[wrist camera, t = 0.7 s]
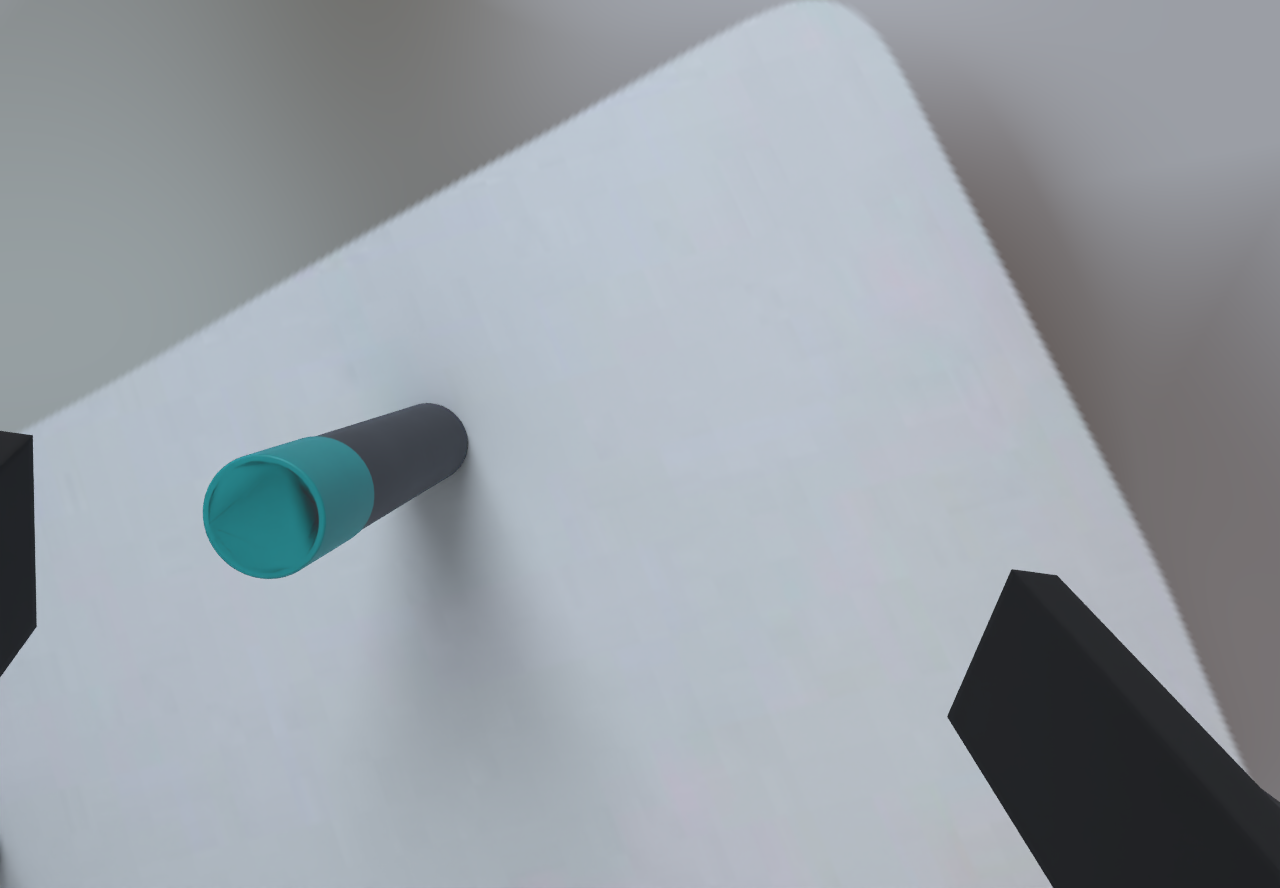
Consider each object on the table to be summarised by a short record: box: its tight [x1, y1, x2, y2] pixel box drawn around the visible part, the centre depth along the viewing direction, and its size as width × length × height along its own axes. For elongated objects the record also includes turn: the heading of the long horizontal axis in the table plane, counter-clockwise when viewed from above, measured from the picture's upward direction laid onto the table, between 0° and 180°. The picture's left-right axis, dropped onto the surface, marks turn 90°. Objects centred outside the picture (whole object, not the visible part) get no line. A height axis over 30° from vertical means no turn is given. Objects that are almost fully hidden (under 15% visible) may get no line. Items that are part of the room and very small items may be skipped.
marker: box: [203, 403, 468, 579], centre depth 26 cm, size 3×3×12 cm
